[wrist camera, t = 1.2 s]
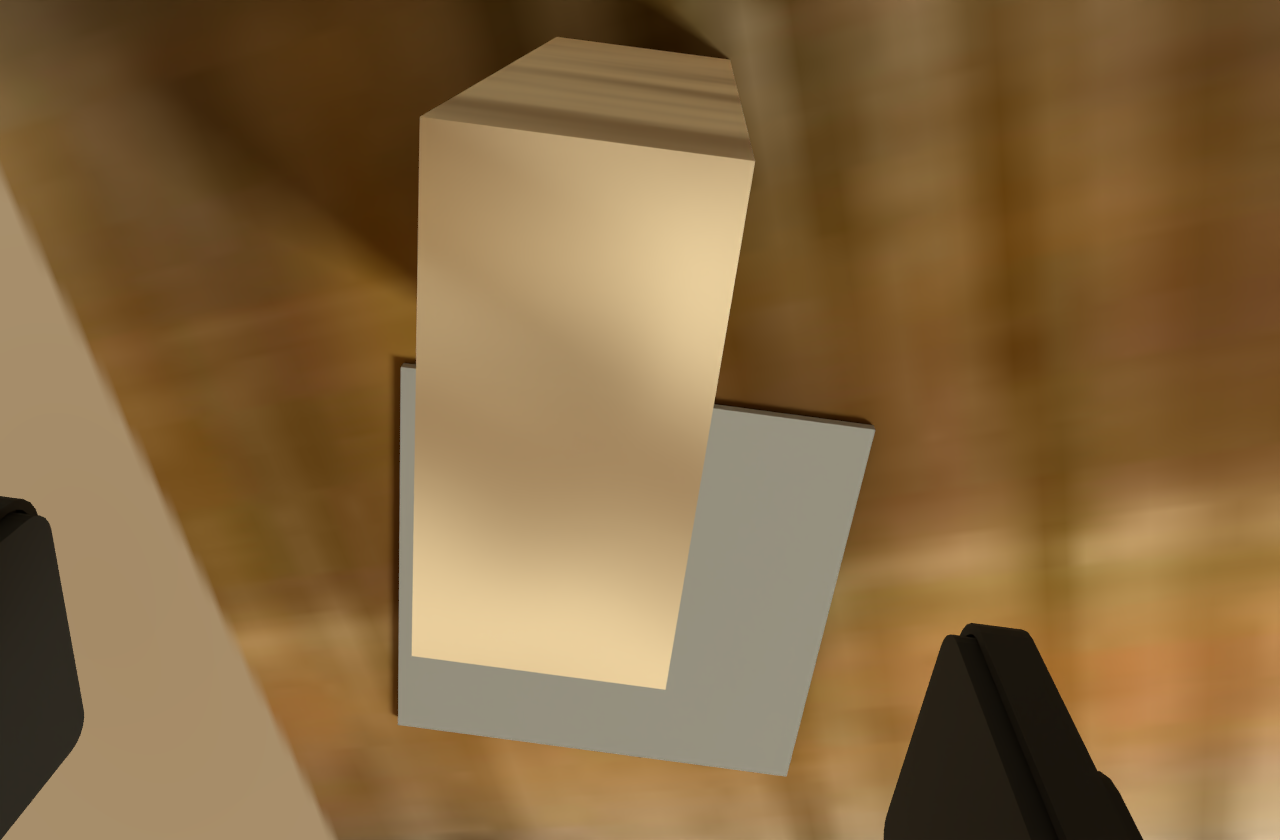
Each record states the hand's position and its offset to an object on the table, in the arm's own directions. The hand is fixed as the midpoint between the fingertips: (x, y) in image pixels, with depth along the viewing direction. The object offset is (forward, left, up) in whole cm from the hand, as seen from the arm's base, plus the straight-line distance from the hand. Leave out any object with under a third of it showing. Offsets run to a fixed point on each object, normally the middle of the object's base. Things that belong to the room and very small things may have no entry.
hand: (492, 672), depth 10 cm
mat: (+12, +1, -18) cm, 21 cm away
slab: (0, 0, -18) cm, 18 cm away
